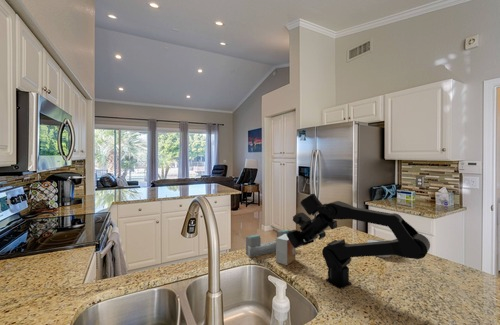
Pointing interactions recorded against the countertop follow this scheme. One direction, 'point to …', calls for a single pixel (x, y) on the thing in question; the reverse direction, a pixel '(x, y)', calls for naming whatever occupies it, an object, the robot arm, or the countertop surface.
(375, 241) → the ramekin
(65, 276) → the countertop surface
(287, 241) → the small box
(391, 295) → the countertop surface
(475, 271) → the countertop surface
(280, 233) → the block
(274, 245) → the rail
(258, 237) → the block
